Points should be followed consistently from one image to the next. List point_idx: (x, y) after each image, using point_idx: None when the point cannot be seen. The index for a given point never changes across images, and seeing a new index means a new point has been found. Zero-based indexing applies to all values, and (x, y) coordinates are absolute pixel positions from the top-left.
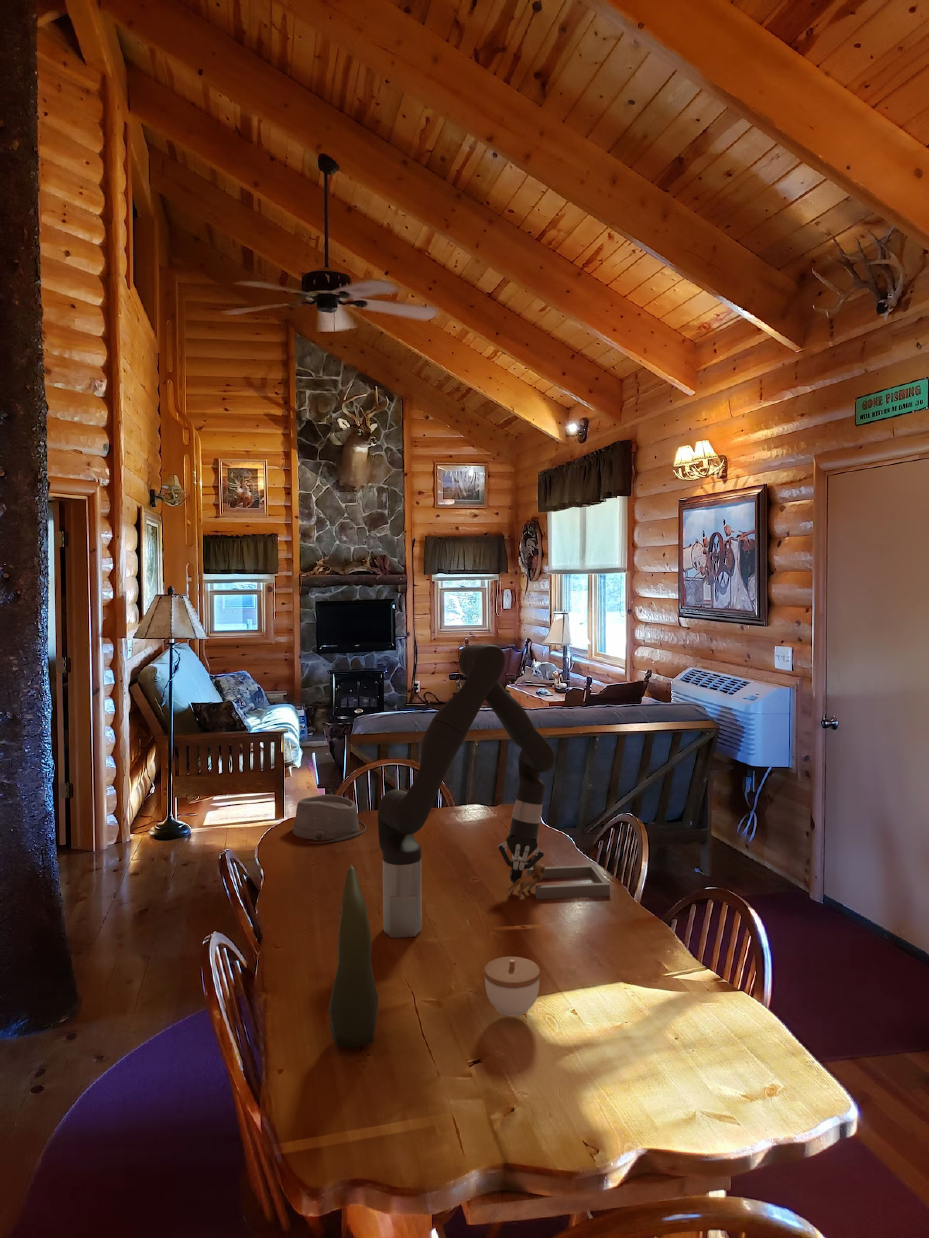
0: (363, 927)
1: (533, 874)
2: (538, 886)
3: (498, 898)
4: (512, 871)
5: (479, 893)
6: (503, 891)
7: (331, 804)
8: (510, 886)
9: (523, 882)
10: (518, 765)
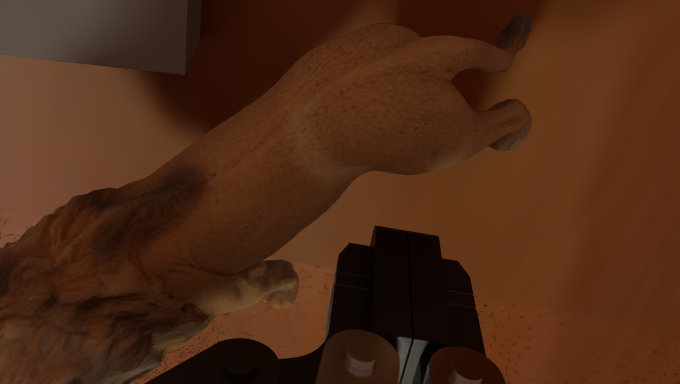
0: None
1: (173, 239)
2: (145, 34)
3: (584, 94)
4: (473, 341)
5: (674, 236)
6: (467, 241)
7: None
8: (525, 114)
9: (406, 29)
10: None
